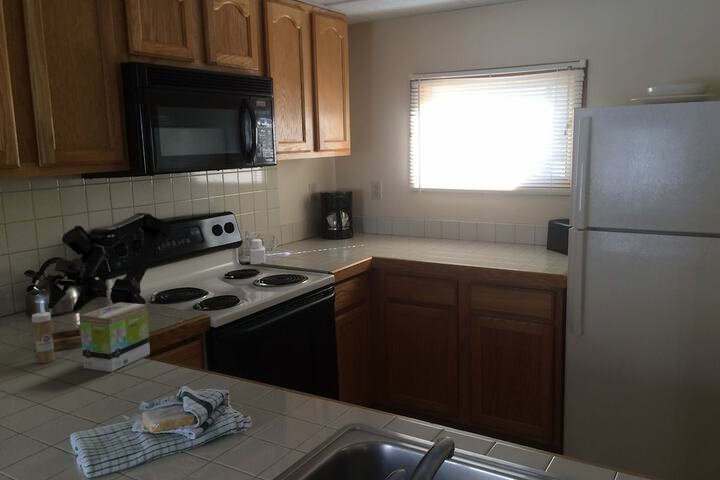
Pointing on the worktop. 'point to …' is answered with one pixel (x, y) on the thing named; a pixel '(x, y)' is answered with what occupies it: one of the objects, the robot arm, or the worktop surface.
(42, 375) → the worktop surface
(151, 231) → the robot arm
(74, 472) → the worktop surface
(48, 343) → the sprinkles bottle
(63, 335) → the square wooden tray
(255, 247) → the medicine bottle
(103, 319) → the tea box
